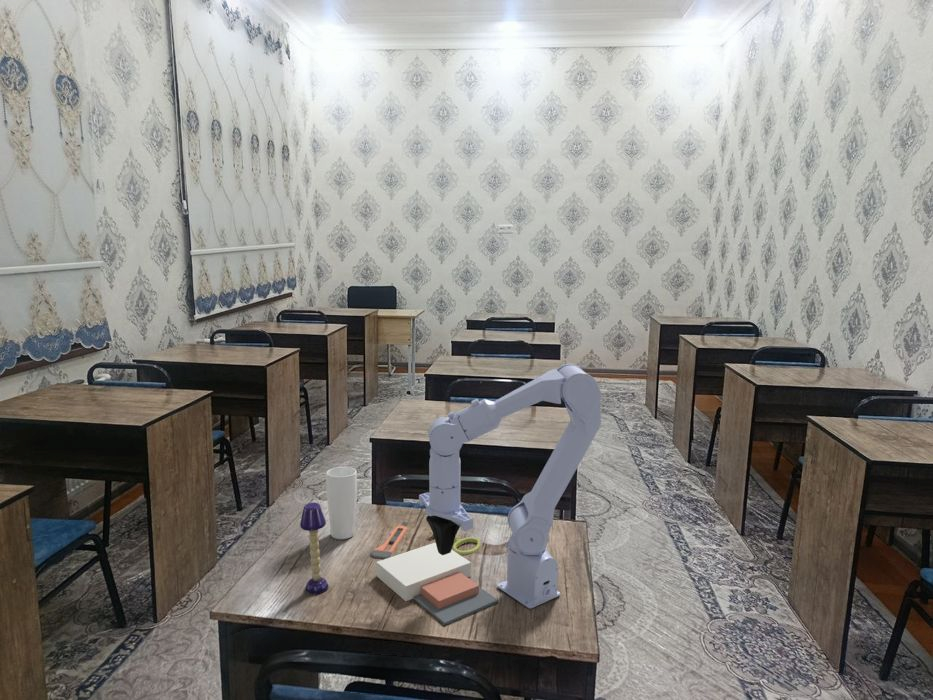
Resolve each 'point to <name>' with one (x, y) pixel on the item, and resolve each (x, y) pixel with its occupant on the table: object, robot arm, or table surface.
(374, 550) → the utility knife
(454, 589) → the pink rubber eraser
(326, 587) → the toy lamp
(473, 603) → the mat
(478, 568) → the table surface
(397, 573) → the white rectangular block
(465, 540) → the key
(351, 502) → the drinking glass
